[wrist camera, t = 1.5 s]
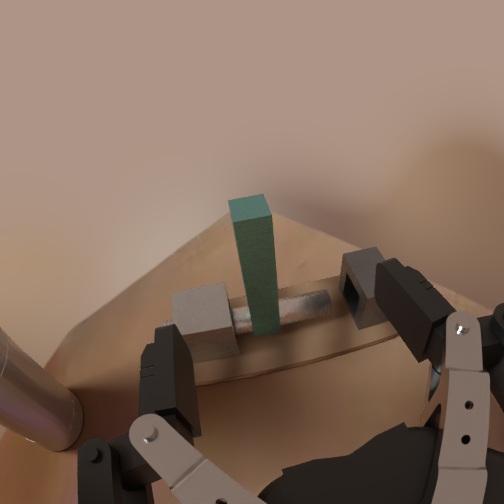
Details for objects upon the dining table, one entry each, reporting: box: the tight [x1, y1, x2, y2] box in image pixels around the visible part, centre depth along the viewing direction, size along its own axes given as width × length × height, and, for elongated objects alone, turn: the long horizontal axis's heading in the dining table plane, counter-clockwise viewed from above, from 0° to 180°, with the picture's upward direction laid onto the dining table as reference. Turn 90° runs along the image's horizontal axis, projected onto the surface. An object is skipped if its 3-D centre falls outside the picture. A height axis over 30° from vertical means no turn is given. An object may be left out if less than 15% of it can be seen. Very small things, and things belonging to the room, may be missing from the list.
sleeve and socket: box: [172, 247, 389, 363], centre depth 34 cm, size 24×7×6 cm, turn 100°
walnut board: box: [193, 275, 397, 386], centre depth 36 cm, size 26×11×1 cm, turn 100°
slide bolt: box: [161, 194, 332, 337], centre depth 30 cm, size 19×3×16 cm, turn 100°
